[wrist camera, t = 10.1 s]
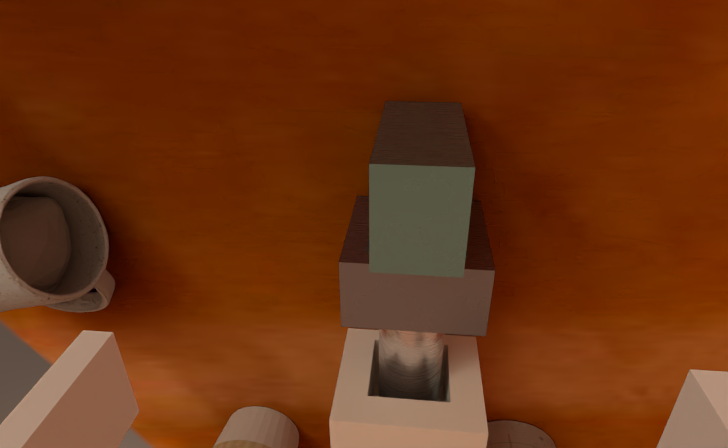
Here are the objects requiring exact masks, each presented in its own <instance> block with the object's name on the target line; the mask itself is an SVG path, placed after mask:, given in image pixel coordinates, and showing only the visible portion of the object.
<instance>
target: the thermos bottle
mask: <svg viewBox="0 0 728 448" xmlns="http://www.w3.org/2000/svg"><path fill="white" fill-rule="evenodd" d="M487 426H488V440H487V446H486V448H556V447H555V444H554V442H553V441H552V439H551V438H550V437H549V436H548V435H547V434H546V433H545V432H543V431H542V430H540V429H539V428H537V427H535V426H533V425H530V424H527V423H523V422H518V421H509V420H501V421H492V422H487Z"/></svg>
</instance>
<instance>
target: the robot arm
mask: <svg viewBox="0 0 728 448" xmlns="http://www.w3.org/2000/svg"><path fill="white" fill-rule="evenodd" d="M139 411H140V410H139V407H138V405H137V402H136V399H135V396H134V393H133V390H132V387H131V384H130V381H129V378H128V375H127V372H126V369H125V366H124V363H123V360H122V357H121V354H120V351H119V348H118V345H117V342H116V339H115V336H114V333H113V332H102V331H87V330H83V331H82V332H81V333H80V334H79V336H78V337H77V338H76V339H75V340H74V341H73V342H72V344H71V345H70V346H69V347H68V348H67V349H66V350H65V352H64V353H63V354H62V355H61V356H60V357H59V358H58V360H57V361H56V362H55V363H54V364H53V365H52V366H51V368H50V369H49V370H48V371H47V372H46V373H45V374H44V375H43V377H42V378H41V379H40V380H39V381H38V383H36V385H35V386H34V387H33V388H32V389H31V390H30V391H29V393H28V394H27V395H26V396H25V397H24V398H23V399H22V401H21V402H20V403H19V404H18V405H17V406H16V407H15V409H14V410H13V411H12V412H11V413H10V414H9V415H8V417H7V418H6V419H5V420H4V421H3V422H2V423H1V425H0V448H118V446H119V444H120V443H121V441H122V439H123V438H124V436H125V434H126V433H127V431H128V430H129V428H130V426H131V425H132V423H133V421H134V420H135V418H136V416H137V415H138V413H139ZM657 448H728V372H723V371H707V370H692V369H690V370H689V373H688V375H687V377H686V380H685V382H684V384H683V387H682V389H681V391H680V394H679V396H678V398H677V401H676V403H675V406H674V408H673V410H672V413H671V415H670V417H669V420H668V422H667V424H666V427H665V429H664V431H663V434H662V436H661V438H660V441H659V443H658V446H657Z"/></svg>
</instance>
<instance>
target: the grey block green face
mask: <svg viewBox="0 0 728 448" xmlns="http://www.w3.org/2000/svg"><path fill="white" fill-rule="evenodd" d="M474 176H475V164H474V159H473V155H472V150H471V146H470V141H469V137H468V132H467V128H466V123H465V119H464V114H463V110H462V105H461V103H448V102H404V101H386V102H385V106H384V110H383V113H382V117H381V121H380V125H379V129H378V132H377V136H376V140H375V144H374V147H373V151H372V155H371V159H370V162H369V272H374V273H392V274H410V275H427V276H445V277H464V268H465V258H466V249H467V240H468V231H469V222H470V212H471V203H472V194H473V185H474ZM444 336H445V334H444V333H429V332H414V331H400V330H385V329H379V397H388V398H400V399H412V400H425V401H437V402H438V401H439V390H440V379H441V369H442V358H443V347H444Z"/></svg>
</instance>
